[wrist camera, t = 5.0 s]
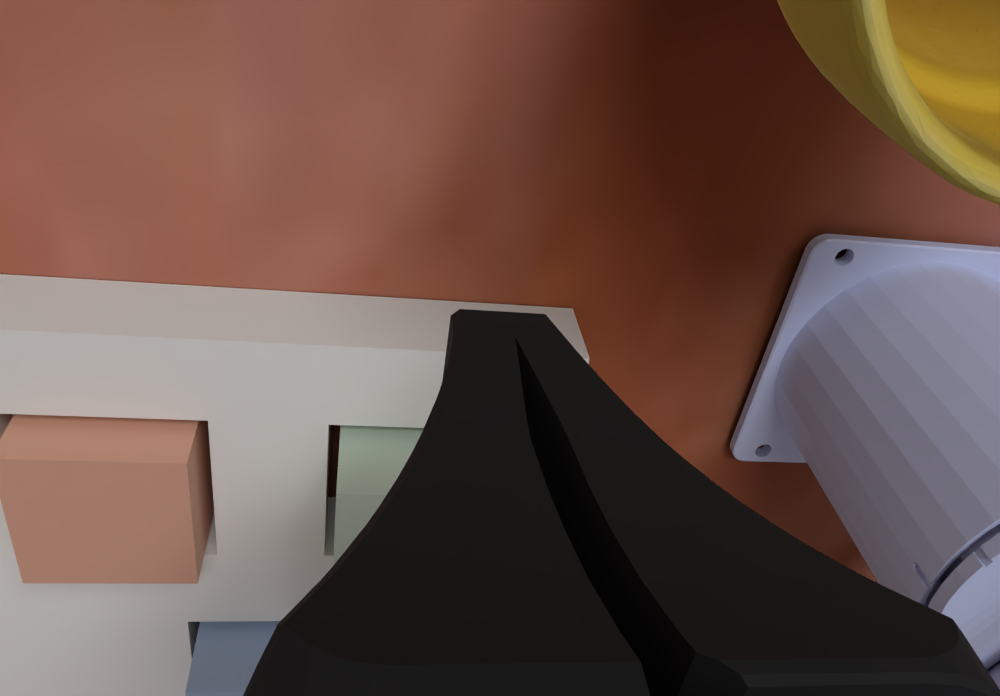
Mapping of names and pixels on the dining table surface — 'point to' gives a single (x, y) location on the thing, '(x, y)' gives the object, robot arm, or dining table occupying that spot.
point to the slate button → (227, 656)
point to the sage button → (367, 475)
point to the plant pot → (916, 76)
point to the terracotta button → (107, 498)
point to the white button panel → (233, 449)
